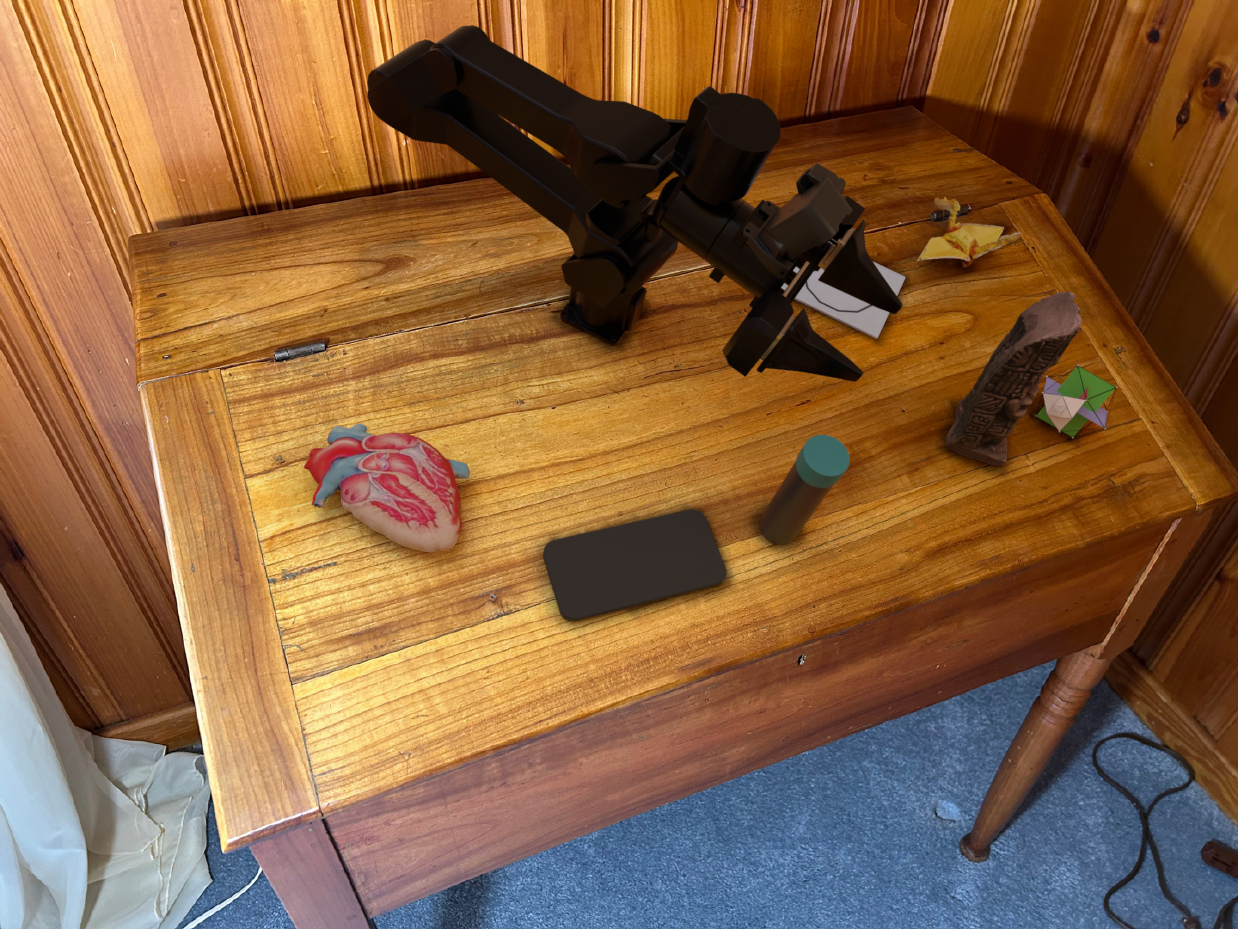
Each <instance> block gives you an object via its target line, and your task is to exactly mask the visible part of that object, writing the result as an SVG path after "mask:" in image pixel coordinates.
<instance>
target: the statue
mask: <svg viewBox="0 0 1238 929" xmlns="http://www.w3.org/2000/svg"><path fill="white" fill-rule="evenodd" d="M1075 300H1076V295H1075V293H1073V292H1071V291H1060V292H1059V291H1058V292H1055V293H1054V294H1052V295H1050V296H1047V297H1042V298H1041V299H1040V300H1039V301H1038V302H1034V303H1033V304H1032V305H1030V306H1029V307H1027V308H1026V309H1025V310H1023V311H1022V312H1021V313H1019V315H1018V317H1017V319H1016V321H1015V323H1014V324H1013V326H1012V328H1011V329H1010V330H1009V332H1007V333H1006V334H1005V335H1004V337H1003V339H1001V341H1000V343H999V344H998V345H997V347H996V348H995V349H994V350H993V352H992V354H991V356H990V357H989V359H988V361H987V362H986V364H985V366H984V368H983V370H982V372H981V374H980V375H979V376H978V378H977V380H976V381H975V383H974V384H973V387H972V389H971V390H969V391H968V393H967V394H966V395H964V398H963V399H961V400H959V401H957V404H956V409H955V412H954V413H955V421H954V423H953V424H952V426H951V427H950V429H949V431H948V432H947V434H946V436H945V437H944V440H945V447H946V448H947V449H949V450H950V451H952V452H954V453H956V454H958V455H961V456H964V457H966V458H969V459H973V460H977V461H979V462H982V463H984V464H988V465H990V466H993V467H1003V466H1005V464H1006V462H1007V459H1008V437H1010V436H1011V434H1012V433H1013V430H1014V429H1015V427H1016V425H1017V423H1018V421H1019V420H1020V419H1022V418H1023V417H1024V416H1025V415H1026V414H1027V410H1028V407H1029V406H1031V405H1032V404H1033V400H1034V398H1035V397H1036V396H1037V394H1038V393H1039V391H1040V385H1039V384H1040V383H1041V380H1042V379H1043V378H1044V373H1045V374H1046V373H1047V372H1048V371H1049V369H1050V368H1052V367H1054V366H1056V365H1057V364H1058V363H1059V361H1060V359H1061V358H1062V356H1063V355H1064V354H1065V352H1066V350H1067V348H1068V347H1069V346H1070V344H1071V343H1072V341H1073V339H1074V338H1075V337H1077V335H1078V333H1079V332H1080V330H1081V329H1082V328H1081V326H1082V322H1083V318H1082V317H1081V315H1080V314H1081V309H1080V307H1079V306H1078V304H1077V303H1076V302H1075Z"/></svg>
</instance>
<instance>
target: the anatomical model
mask: <svg viewBox="0 0 1238 929" xmlns="http://www.w3.org/2000/svg"><path fill="white" fill-rule="evenodd" d="M326 441H327V443H328V446H326V447H315V448H311V450H310V451H309V453H308V455H309V458H308V459H307V460H306V462H305V463H304V466H303V469H304V470H307V471H309V473H310V475H311V477H312V478H313V480H314V481H315V482H316V484H318V486H317V487H316V489H315V491H314V493H313V495H312V499H311V500H312V501H311V506H313V507H315V508H319V509H324V508H325V505H326V503H327V500H328V499H329V498H331V497H332V496H334V495H335V494H336V493H338V492H340V502H341V505H342V507H343V508H344V510H346V511H347V512H350V513H351V514H352V516H353V517H354V518H355V519H357V520H358V521H359V522H361V523H362V524H364V525H365V526H367V527H368V528H369V529H370V530H371V531H374V532H376V533H378V534H381V535H383V536H385V537H386V538H388V539H389V541H391V542H393V543H395V544H397V545H399V546H402V547H405V548H408V549H412V550H414V551H421V552H424V553H431V554H433V553H435V552H437V551H442V552H444V551H449V550H451V549H452V548H454V547H455V545H456V544H457V541H458V539H459V537H460V534H461V531H462V526H463V523H462V517H461V506H462V501H461V493H460V490H459V486H458V482H457V480H458V479H459V480H464V479H465V480H469V478H470V473H471V471H470V468H469V466H468V464H467V463H465V462H463V461H460V460H454V459H449V458H446V457H445V456H444V455H443V454H442V453H441V452H440V451H439V450H438V449H437V448H436V447H435V446H434V445H432V444H431V443H429V442H427V441H425V440H424V439H422V438H420V437H419V436H415V435H413V434H409V433H403V432H388V433H382V434H379V435H375V434H372V433H369V432H368V426H366V425H365V424H363V423H361V422H360V423H359V422H358V423H355V424H354V425H352V426H351V427H344V426H341V425H336V426H333V428H331V430H330V432H329V433H328V435H327V439H326Z"/></svg>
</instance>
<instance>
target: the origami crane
mask: <svg viewBox="0 0 1238 929" xmlns="http://www.w3.org/2000/svg"><path fill="white" fill-rule="evenodd" d="M933 202H934V205H935V207H936V208H937V209H939V210H941V211H945V210H946V211H947V212H948V211H949V214H950V215H949V217H948V219H947V223H946V231H945V233H944V234H943V235H941V236H935V237H934V236H933V237H931V238H929V240H928V242H927V244H926V245H925V247H924V249H923V250H922V252H921V253H920V255H919V257H918V258H917V260H916V261H917V262H923V261H924V260H927V261H928V260H938V259H958V260H959V259H960V260H961V267H962V268H967V267H970V266H971V264H972V263H974V262H975V261H976V260H977V259H978V258H980V257H982V256H984V255H985V254H988V253H990V252H992V251H995V250H998V249H1000V248H1002V247H1004V246H1006V245H1008V244H1010V243H1014V242H1016V241H1017V240H1018V239H1019V238H1021V237H1022V232H1013V233H1012V234H1011V235H1010V234H1006V235H1002V234H1003V232H1004V230H1005V227H1004V226H999V225H994V224H990V225H989V224H981V223H970V222H967V223H966V222H965V223H963V222H962V223H961V222H960V221H958V222H956V220H957V218H958V217H957V215H958V214H959V213H958V211H960V210H961V205H960V203H959V201H957V199H956V198H952V199H951V200H949V199H947V197H946V196H944V197H943V198H940V197H937V196H936V197H935V198H934V200H933ZM963 260H964V261H963Z"/></svg>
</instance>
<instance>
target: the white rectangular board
mask: <svg viewBox="0 0 1238 929" xmlns="http://www.w3.org/2000/svg"><path fill="white" fill-rule="evenodd" d="M873 262H874V264H875V266H876V267H877V269H878V270H879V272H880V273H881V274H882V276H883V277H884V278H885V280H886V281H887V283H888V284H889V286H890V287H891V288H892V290H893V291H894V293H895V294H896V295H897V296H898V295H899V293H900V291H901V288H902V286H903V284H904V282H905V280H906V276H905V275H902V274H900V273H898V272H896V271H894V270H891V269H890V268H887V267H885V266H884V265H881V264H879V263H877V262H875V261H873ZM799 270H800V269H799V268H797V267H795V269H794V270H793V271H794V272H796V273H797V272H798V271H799ZM823 272H824V270H823V269H822V268H820V270H819V271H814V272H813V273H812V275H811V276H810V277H809V279H808V280H807V282H806V283H805V285H804V286H803V288H802V289H801V290H800V292H799V293H798V295H797V296H796V298H795V299H794V300H793V301H796V302H798V303H801V304H803V305H804V306H806V307H809V308H810V309H813V310H815V311H817V312H819V313H821V314H823V315H825V316H827V317H828V318H831V319H834V320H836V321H838V322H839V323H841V324H844V325H846V326H848V327H850V328H852V329H854V330H856V331H858V332H860V333H862V334H865V335H867V336H868V337H871V338H873V339H874V340H878V338H879V337H880V334H881V332H882V330H883V328H884V326H885V324H886V321H887V319H888V317H889V315H890V314H891V313H890V312H887V311H884V310H881V309H879V308H876V307H874V306H872V305H870V304H868V303H866V302H863V301H861V300H859V299H857V298H855V297H853V296H850V295H848V294H846V293H844V292H842V291H840V290H837V289H835V288H833V287H831V286H829V285H827V284H824V283H822V282H820V281H818V279H819V278H820V276H821V275H822V273H823ZM787 287H788V285H786V284H785V283H784V285H783V286H782V287H781V288H782V289H784V290H785V289H786V288H787Z"/></svg>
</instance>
